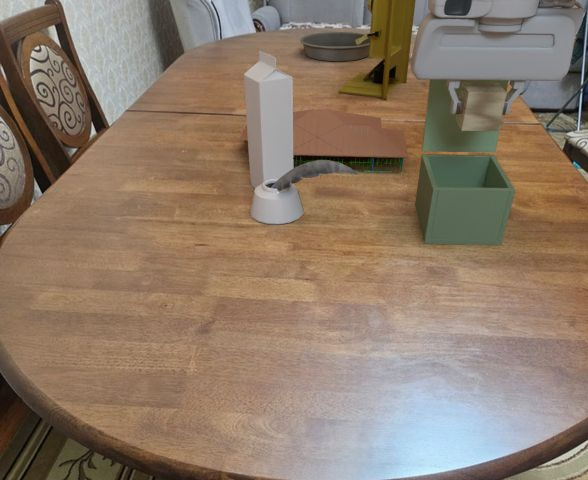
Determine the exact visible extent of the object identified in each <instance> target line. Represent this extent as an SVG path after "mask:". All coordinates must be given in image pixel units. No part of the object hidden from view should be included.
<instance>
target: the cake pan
mask: <svg viewBox="0 0 588 480" xmlns="http://www.w3.org/2000/svg"><path fill="white" fill-rule="evenodd" d="M366 34H367V33H366ZM366 34H365V33H359V32H350V31H329V32H319V33H318V32H317V33H312V34H311V33H310V34H307V35H305V36H303V37H301V38H300V39H299V42H300V43H301V44H302V45H303V50H304V54H305V56H306V57H308V58H309V59H313V60H317V61H323V62H351V61H358V60H359V61H360V60H362V59H365V58H367V57H369V45H370V36H369V38H368V39H366V40H363V41H362V42H361V43H360V44H358V45H357V44H356V41H355V40H356V39H358V38H361V37H363V36H364V35H366Z"/></svg>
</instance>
